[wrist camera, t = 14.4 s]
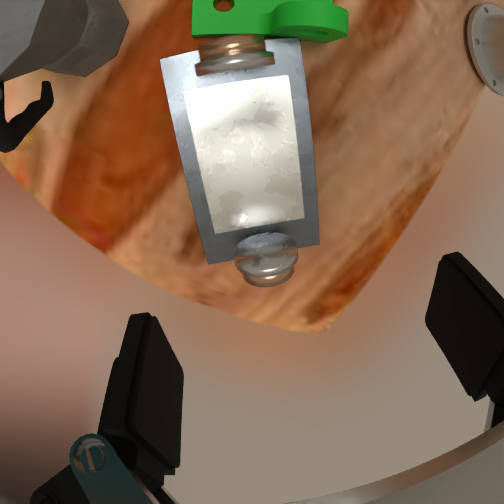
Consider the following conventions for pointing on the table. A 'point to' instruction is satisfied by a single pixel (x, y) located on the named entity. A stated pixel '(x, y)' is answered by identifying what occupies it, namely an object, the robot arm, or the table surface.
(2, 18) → the coffeepot
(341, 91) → the table surface
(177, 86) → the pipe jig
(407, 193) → the table surface
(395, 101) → the table surface
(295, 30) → the mechanical part
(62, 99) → the table surface
